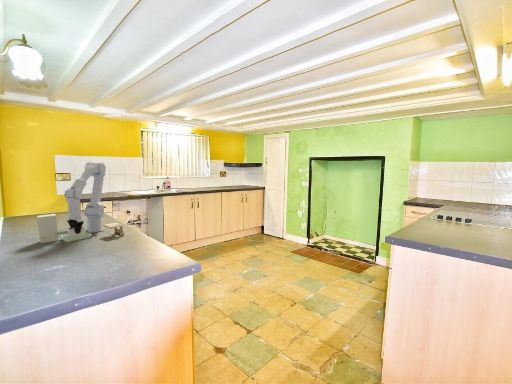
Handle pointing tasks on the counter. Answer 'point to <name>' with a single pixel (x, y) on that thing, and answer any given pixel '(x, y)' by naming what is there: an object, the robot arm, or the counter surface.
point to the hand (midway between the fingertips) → (76, 232)
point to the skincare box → (47, 228)
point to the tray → (87, 235)
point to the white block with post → (72, 232)
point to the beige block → (115, 228)
